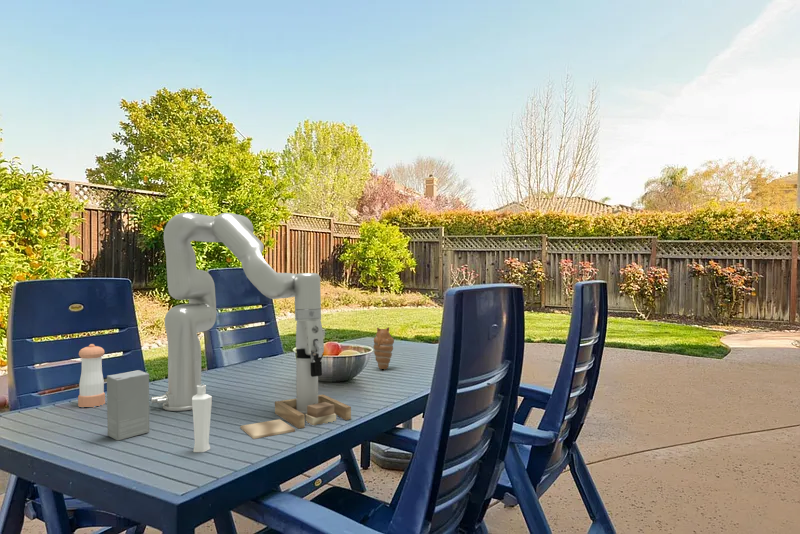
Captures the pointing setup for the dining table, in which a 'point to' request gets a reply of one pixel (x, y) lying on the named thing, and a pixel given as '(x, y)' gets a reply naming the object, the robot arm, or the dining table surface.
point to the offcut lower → (320, 419)
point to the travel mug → (305, 382)
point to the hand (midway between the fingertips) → (309, 373)
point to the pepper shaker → (91, 377)
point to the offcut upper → (320, 409)
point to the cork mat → (267, 428)
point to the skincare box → (127, 404)
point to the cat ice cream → (383, 347)
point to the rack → (296, 418)
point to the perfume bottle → (201, 418)
